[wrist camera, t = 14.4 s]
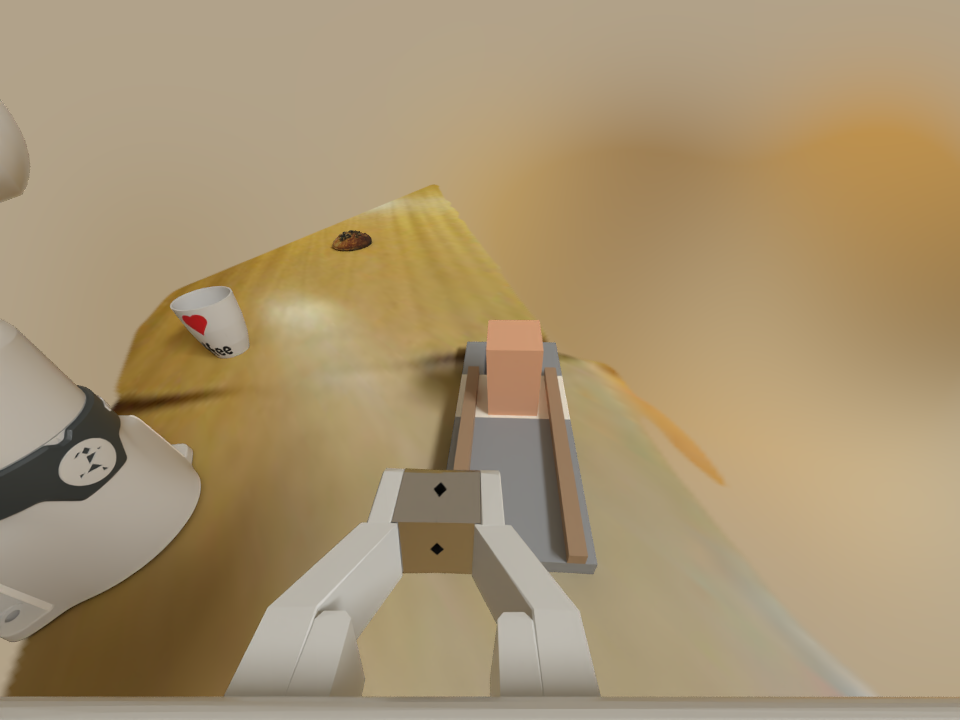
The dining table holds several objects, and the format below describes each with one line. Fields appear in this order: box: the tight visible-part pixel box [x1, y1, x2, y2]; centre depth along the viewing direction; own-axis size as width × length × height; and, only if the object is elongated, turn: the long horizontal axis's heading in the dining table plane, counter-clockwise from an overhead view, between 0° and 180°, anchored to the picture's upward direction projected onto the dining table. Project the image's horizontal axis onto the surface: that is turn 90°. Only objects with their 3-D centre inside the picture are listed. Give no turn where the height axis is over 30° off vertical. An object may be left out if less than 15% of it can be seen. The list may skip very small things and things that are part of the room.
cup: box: [170, 286, 249, 358], centre depth 55 cm, size 8×8×10 cm
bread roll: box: [332, 230, 372, 251], centre depth 98 cm, size 11×11×5 cm
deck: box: [446, 342, 597, 574], centre depth 41 cm, size 14×32×4 cm, turn 176°
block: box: [486, 320, 544, 416], centre depth 41 cm, size 6×6×10 cm
